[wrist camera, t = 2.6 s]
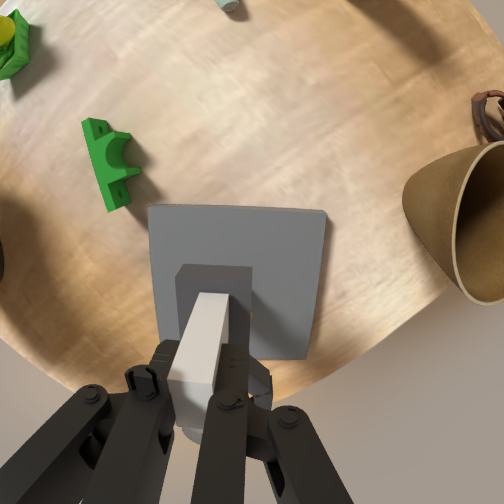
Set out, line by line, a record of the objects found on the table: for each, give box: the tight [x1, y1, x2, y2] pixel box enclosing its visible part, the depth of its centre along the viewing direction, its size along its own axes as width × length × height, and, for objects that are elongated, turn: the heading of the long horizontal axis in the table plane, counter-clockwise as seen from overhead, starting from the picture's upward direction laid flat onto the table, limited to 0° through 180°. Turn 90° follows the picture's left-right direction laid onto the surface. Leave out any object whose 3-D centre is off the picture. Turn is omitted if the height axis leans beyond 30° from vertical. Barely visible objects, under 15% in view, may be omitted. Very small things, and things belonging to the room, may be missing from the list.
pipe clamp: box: [81, 118, 142, 213], centre depth 29 cm, size 11×4×5 cm, turn 17°
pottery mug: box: [471, 90, 504, 143], centre depth 25 cm, size 12×10×8 cm
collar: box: [175, 264, 273, 410], centre depth 18 cm, size 7×13×2 cm, turn 178°
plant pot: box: [402, 141, 504, 306], centre depth 25 cm, size 15×15×16 cm
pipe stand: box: [147, 204, 327, 360], centre depth 35 cm, size 20×20×2 cm
